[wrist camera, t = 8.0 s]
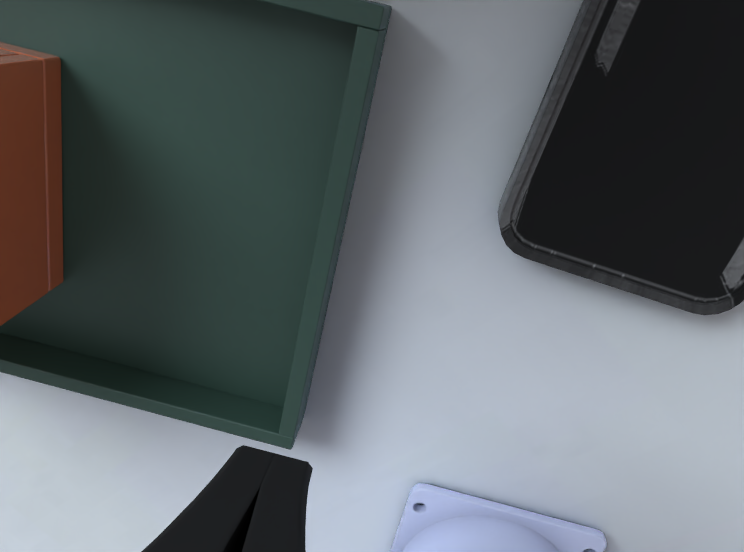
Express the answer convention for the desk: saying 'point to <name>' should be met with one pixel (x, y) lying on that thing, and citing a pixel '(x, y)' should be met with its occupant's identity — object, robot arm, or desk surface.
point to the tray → (198, 200)
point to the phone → (640, 154)
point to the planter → (29, 178)
